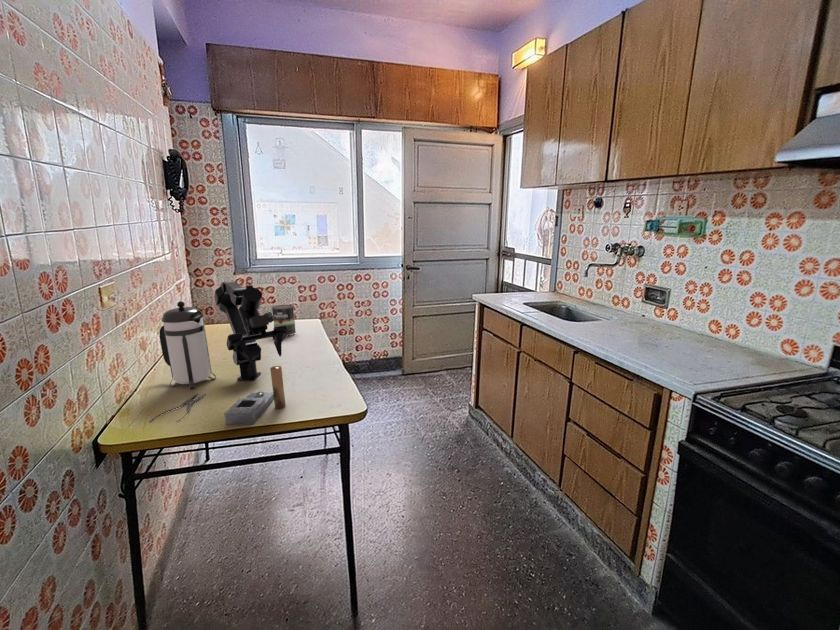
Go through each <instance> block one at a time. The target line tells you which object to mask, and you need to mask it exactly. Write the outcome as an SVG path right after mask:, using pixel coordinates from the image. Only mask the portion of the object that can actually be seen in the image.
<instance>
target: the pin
mask: <svg viewBox="0 0 840 630" xmlns="http://www.w3.org/2000/svg"><path fill="white" fill-rule="evenodd" d="M269 369H270V376H271V385H272V392H273V396H274V399H273V404H274V409H276V410H282V409H284V408H286V407H287V406H286V397H285V388H284V387H285V386H284V378H283V371H282V369H283V368H282V366H281V365H274V366H271V367H270V368H269Z"/></svg>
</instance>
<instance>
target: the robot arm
mask: <svg viewBox="0 0 840 630" xmlns="http://www.w3.org/2000/svg"><path fill="white" fill-rule="evenodd" d="M262 299H263V292H262V291H261V290H260V289H259V288H257V287H254V286H253V284H250V285H246V286H243V285H240V284H238V283H237V281H236V280H227V281H223V282H221V283H220V286H219V287H218V288H217V289H216V290H215V292H214V302H215V305H216V306H217V307H218V309H219V311H220V312H222V313H224V314H225V315H226V317H227V320H228V323H229V326H230V328H231V331H232V334H231V333H230V334H228V336H227V339H226V347H227V350H228V351H233V353H232V360H233V361H232V362H233V363H234V364H235V365H236V366H238V367H239V372H240V373H239V375H240V376H238V377H237V379H236V380H237V381H255V380H256V379H257V378H258V377H259V376H260V375H261V374H262V373H261V372H260V371H259V372H258V370H257V369H258V368H257V363H256V362H258V361H261V359H262V347H261V346H260V344H258V342H257V341H259V340H263V339H269V338H272V339H273V340H274V341H273V344H274V347H275V349H276V352H277V354H278V356H279V357H282V342H283V341H284V340H285V339H286V338H287V337H288V336H287V334H288V331H289V330H288V327H287V326H286V325H279V326H274V325H273V329H272V330H271V331H267V330H268V325H269V324H271V323H274V320H273V313H272V312H271V311H270V312H269V311H268V312H265V313H264V314H262V315H260V312H259V309H260V307H261V304H262Z"/></svg>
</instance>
